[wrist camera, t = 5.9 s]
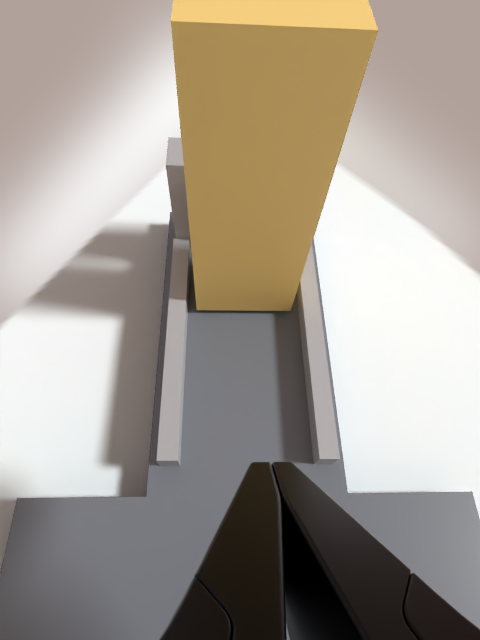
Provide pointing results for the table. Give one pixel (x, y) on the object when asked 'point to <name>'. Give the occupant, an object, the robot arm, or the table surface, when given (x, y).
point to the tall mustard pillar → (262, 135)
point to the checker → (214, 471)
